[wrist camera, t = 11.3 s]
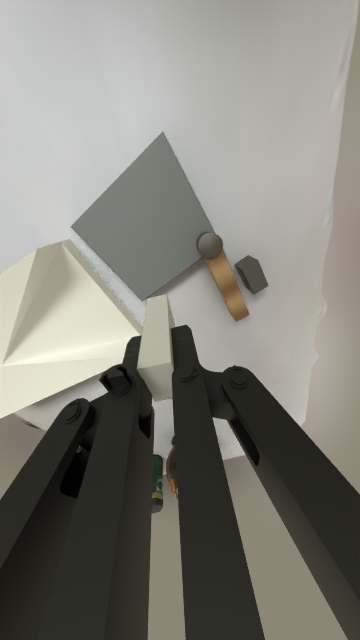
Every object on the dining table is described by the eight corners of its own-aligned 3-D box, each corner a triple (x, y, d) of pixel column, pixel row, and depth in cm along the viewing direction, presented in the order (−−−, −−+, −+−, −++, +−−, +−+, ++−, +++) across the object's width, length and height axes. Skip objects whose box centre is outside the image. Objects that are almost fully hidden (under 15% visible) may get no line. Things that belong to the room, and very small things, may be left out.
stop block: (248, 255, 33) (258, 260, 29) (258, 278, 36) (268, 285, 32) (234, 264, 33) (242, 270, 30) (245, 286, 36) (254, 294, 33)
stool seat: (162, 138, 23) (162, 131, 21) (216, 241, 31) (220, 243, 29) (77, 225, 27) (70, 226, 25) (143, 295, 35) (142, 300, 33)
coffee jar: (142, 457, 83) (137, 513, 68) (156, 452, 82) (154, 509, 66) (151, 462, 88) (149, 515, 73) (165, 458, 87) (165, 512, 71)
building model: (12, 390, 48) (-17, 425, 41) (-86, 341, 37) (-153, 377, 29) (142, 327, 40) (138, 355, 32) (70, 238, 29) (36, 249, 21)
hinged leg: (192, 239, 28) (195, 242, 25) (211, 227, 27) (217, 228, 24) (229, 314, 37) (234, 322, 34) (244, 307, 36) (251, 314, 33)
